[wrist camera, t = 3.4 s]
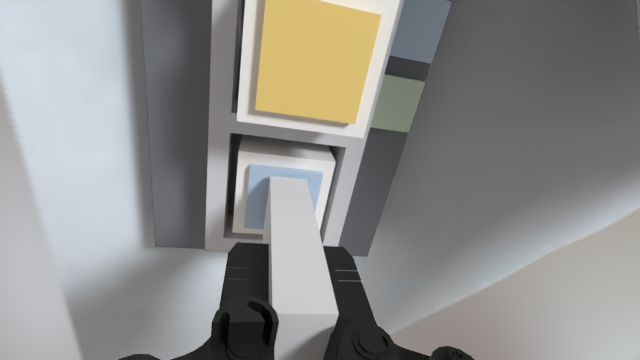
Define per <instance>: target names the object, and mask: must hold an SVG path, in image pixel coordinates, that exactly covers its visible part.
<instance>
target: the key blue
mask: <svg viewBox="0 0 640 360" xmlns="http://www.w3.org/2000/svg"><path fill="white" fill-rule="evenodd" d="M335 163H336V162H335V159H334V157H333V155H332V153H331V151H330V149H329V147H328V145H324V144H316V143H308V142H300V141H292V140H284V139H276V138H268V137H261V136H253V135H245V134H242V137H241V142H240V147H239V153H238V165H237V178H236V191H235V204H234V217H233V230H232V232H234V233H251V234H263V227H264V220H265V212H266V205H267V197H268V189H269V182H270V176H278V177H288V178H298V179H307V182H308V186H309V191H310V195H311V199H312V203H313V207H314V212H315V216H316V220H317V224H318V228H319V232H320V228H321V224H322V219H323V215H324V211H325V206H326V202H327V198H328V193H329V189H330V185H331V180H332V176H333V172H334V167H335Z"/></svg>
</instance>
